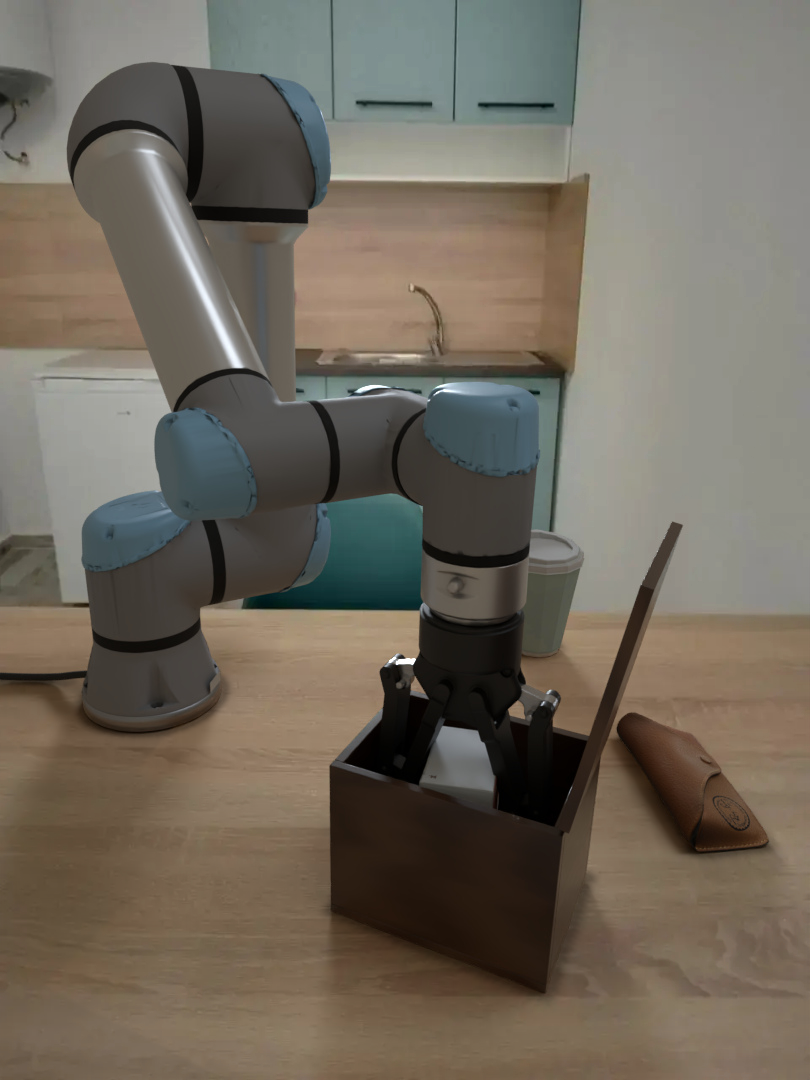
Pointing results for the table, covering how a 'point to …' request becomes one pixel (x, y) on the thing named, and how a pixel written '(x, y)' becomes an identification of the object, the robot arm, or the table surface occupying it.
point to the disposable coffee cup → (549, 591)
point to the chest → (459, 857)
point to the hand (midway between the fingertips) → (458, 863)
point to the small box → (461, 767)
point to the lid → (620, 673)
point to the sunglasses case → (691, 786)
